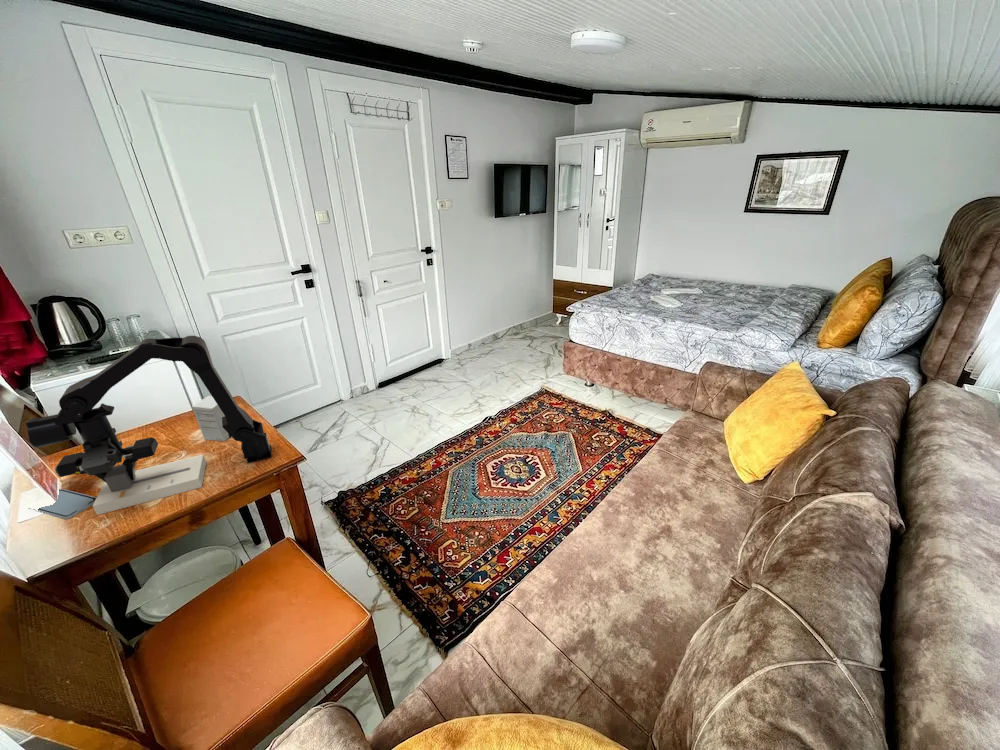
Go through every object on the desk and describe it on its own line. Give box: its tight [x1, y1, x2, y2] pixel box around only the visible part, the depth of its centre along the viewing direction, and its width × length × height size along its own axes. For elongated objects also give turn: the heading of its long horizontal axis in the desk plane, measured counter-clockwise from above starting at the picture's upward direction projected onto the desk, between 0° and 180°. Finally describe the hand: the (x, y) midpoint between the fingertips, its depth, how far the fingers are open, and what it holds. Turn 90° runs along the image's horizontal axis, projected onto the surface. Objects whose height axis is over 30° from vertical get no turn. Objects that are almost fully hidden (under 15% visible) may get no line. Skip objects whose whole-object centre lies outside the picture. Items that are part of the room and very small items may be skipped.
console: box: [92, 454, 207, 516], centre depth 111 cm, size 22×12×3 cm, turn 117°
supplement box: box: [191, 395, 230, 442], centre depth 132 cm, size 7×7×13 cm
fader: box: [104, 463, 136, 492], centre depth 107 cm, size 4×5×4 cm
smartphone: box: [37, 488, 97, 520], centre depth 106 cm, size 7×1×15 cm
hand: (122, 481), depth 108 cm, fingers closed on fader, 4 cm apart
